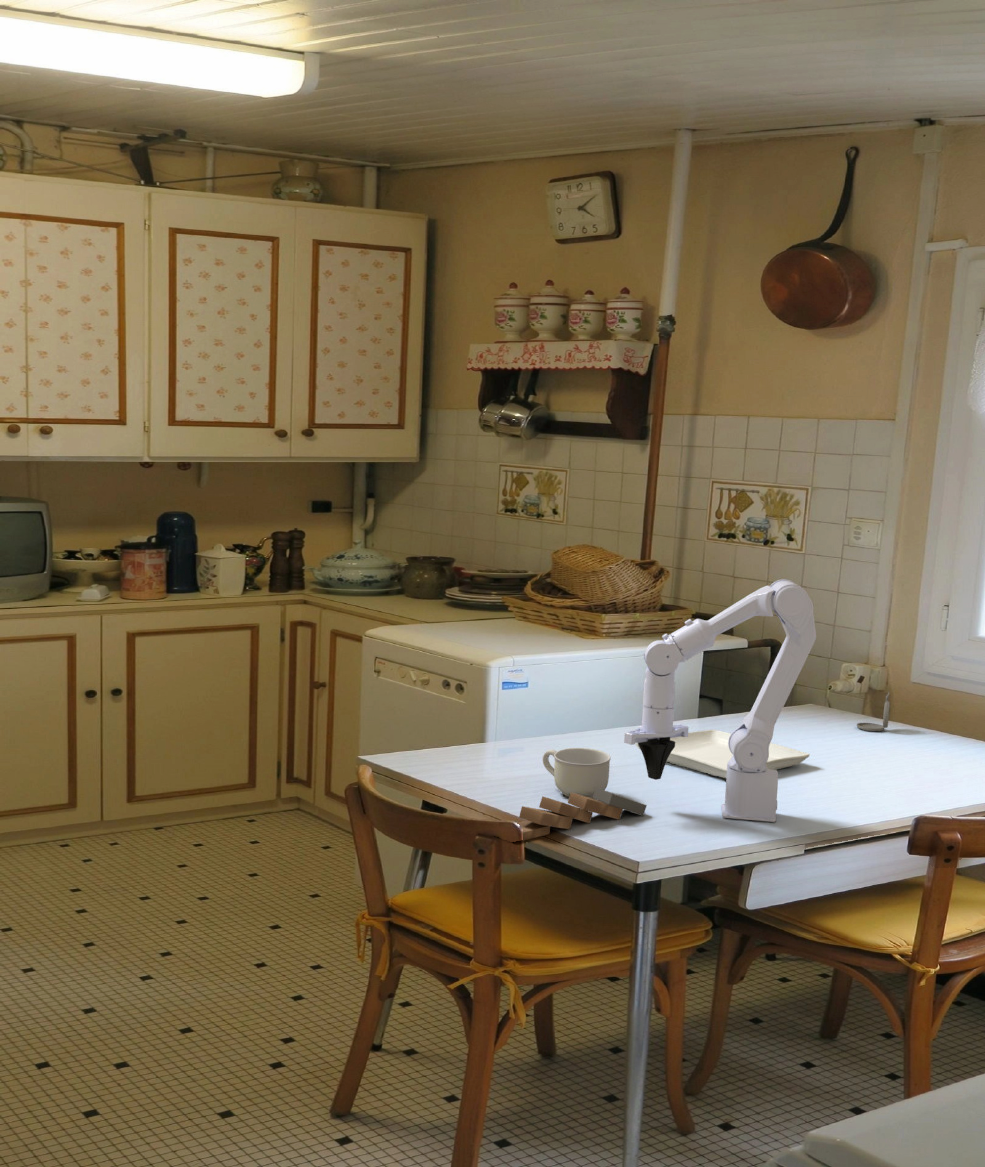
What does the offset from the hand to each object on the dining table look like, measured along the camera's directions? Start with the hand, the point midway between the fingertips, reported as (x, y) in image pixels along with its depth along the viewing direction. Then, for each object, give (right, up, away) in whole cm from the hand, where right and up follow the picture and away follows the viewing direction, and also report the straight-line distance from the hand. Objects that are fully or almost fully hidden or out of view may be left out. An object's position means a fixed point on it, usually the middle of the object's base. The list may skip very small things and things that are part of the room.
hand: (654, 778), depth 235 cm
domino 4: (-8, -5, -5) cm, 11 cm away
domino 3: (-14, -5, -9) cm, 17 cm away
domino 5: (-4, -5, -2) cm, 7 cm away
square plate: (+20, -3, +39) cm, 44 cm away
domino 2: (-18, -5, -13) cm, 23 cm away
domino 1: (-22, -6, -16) cm, 28 cm away
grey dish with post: (+65, -1, +80) cm, 103 cm away
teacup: (-14, -5, +9) cm, 18 cm away
